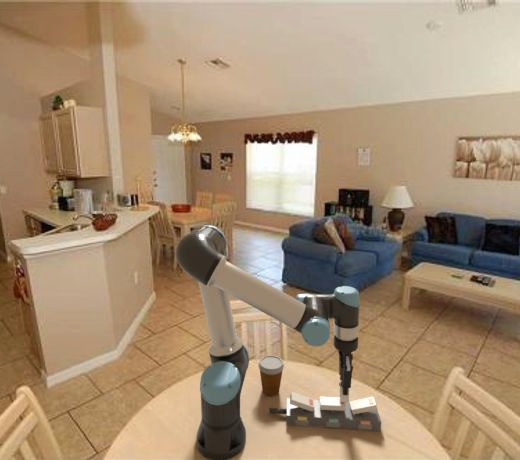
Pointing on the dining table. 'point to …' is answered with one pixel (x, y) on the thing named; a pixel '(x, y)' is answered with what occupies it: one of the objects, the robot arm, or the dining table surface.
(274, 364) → the disposable coffee cup
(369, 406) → the cream rocker switch
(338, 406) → the cream switch plate
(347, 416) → the power strip
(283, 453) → the dining table surface
